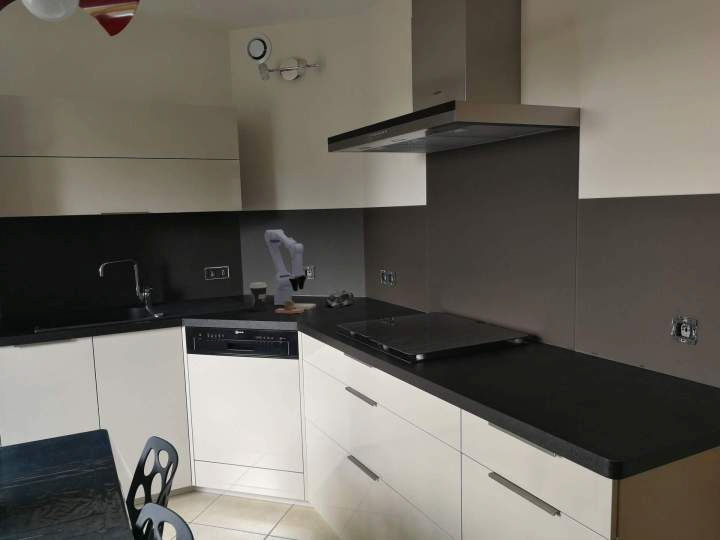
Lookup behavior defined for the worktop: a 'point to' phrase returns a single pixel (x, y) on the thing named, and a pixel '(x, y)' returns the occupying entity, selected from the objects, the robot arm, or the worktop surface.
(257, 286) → the coffee cup
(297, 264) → the robot arm
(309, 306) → the pad
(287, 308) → the stub
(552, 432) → the worktop surface
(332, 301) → the foil
